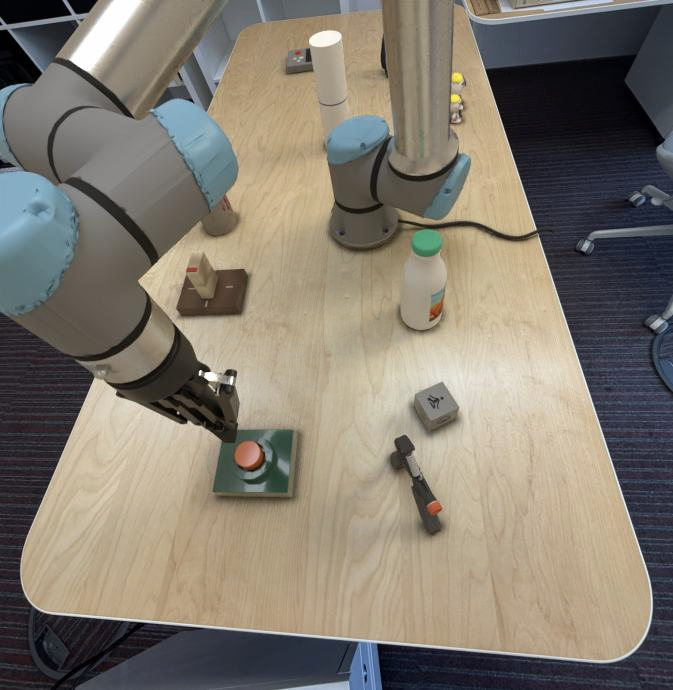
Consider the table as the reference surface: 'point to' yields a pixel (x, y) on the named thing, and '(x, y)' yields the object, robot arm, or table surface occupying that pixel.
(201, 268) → the knob
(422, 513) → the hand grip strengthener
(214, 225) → the thermos bottle
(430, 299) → the milk bottle
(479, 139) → the table surface
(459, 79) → the toy figures
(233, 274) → the panel
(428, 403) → the dice cube
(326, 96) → the cylindrical container
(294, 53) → the electronic device
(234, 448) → the button housing
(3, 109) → the robot arm
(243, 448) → the orange button cap
